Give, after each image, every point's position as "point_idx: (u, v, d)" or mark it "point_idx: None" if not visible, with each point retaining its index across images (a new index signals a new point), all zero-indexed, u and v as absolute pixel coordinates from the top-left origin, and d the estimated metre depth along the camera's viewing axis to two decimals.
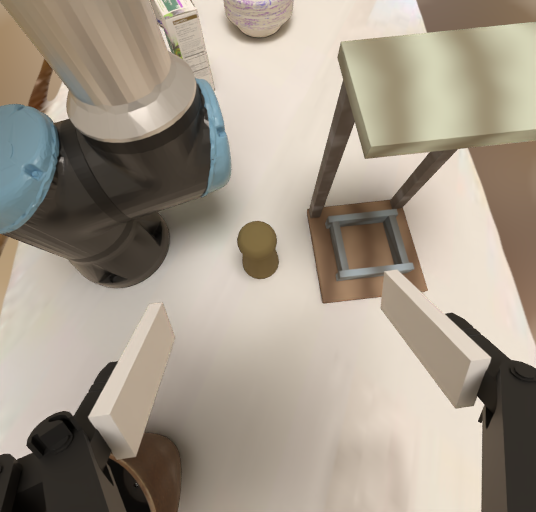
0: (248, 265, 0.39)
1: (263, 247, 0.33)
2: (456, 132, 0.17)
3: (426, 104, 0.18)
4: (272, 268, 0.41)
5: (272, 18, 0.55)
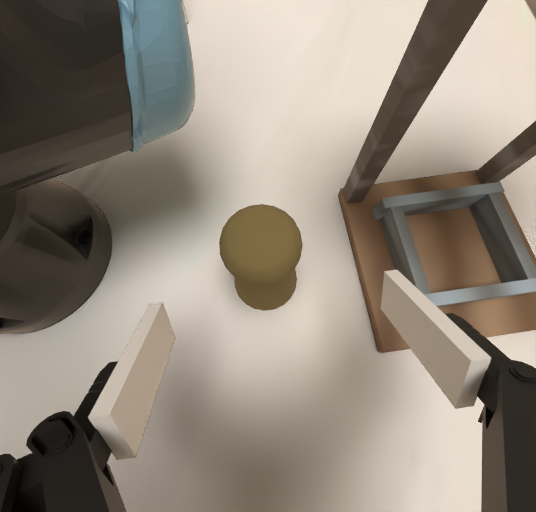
0: (244, 290, 0.21)
1: (277, 259, 0.15)
2: None
3: None
4: (288, 293, 0.23)
5: None
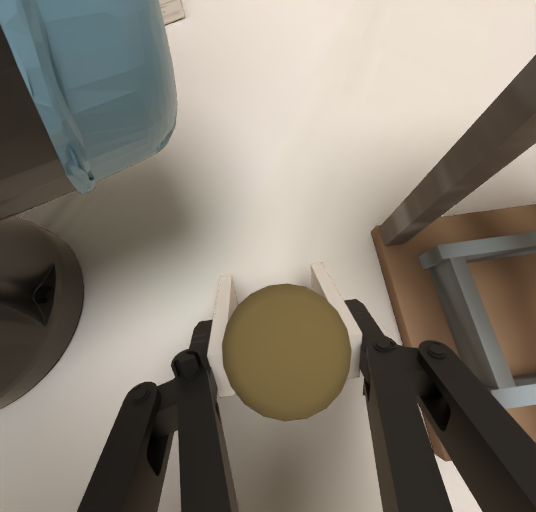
0: None
1: (317, 392, 0.09)
2: None
3: None
4: None
5: None
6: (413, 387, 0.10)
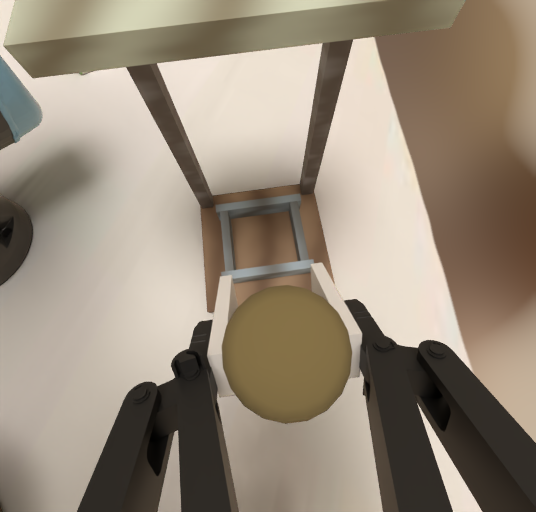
0: None
1: (318, 394, 0.09)
2: (167, 19, 0.10)
3: None
4: None
5: None
6: (413, 387, 0.10)
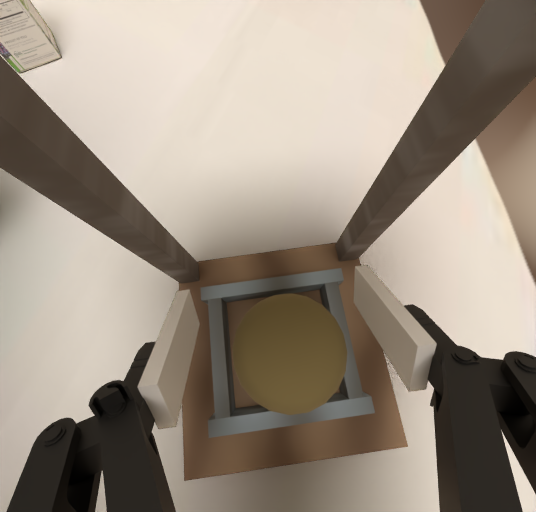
0: None
1: (318, 389, 0.10)
2: None
3: None
4: None
5: None
6: (498, 403, 0.09)
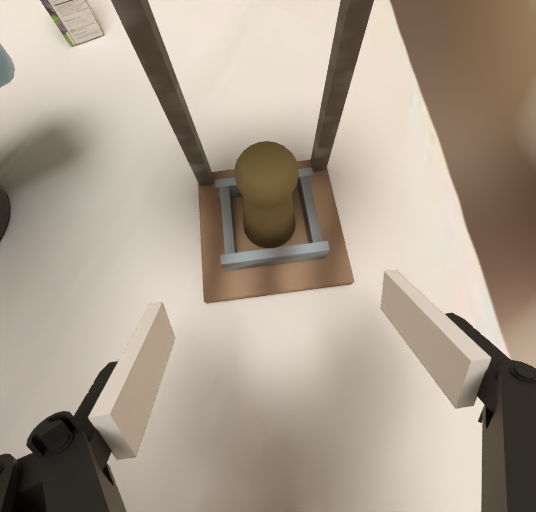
0: (252, 223, 0.26)
1: (279, 177, 0.19)
2: None
3: None
4: (288, 230, 0.27)
5: None
6: None
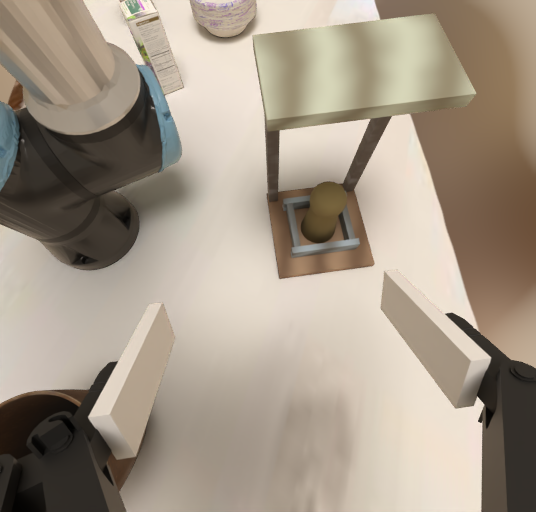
0: (312, 227, 0.42)
1: (338, 203, 0.35)
2: (338, 107, 0.21)
3: (317, 85, 0.22)
4: (332, 231, 0.43)
5: (235, 19, 0.58)
6: None
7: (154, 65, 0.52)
